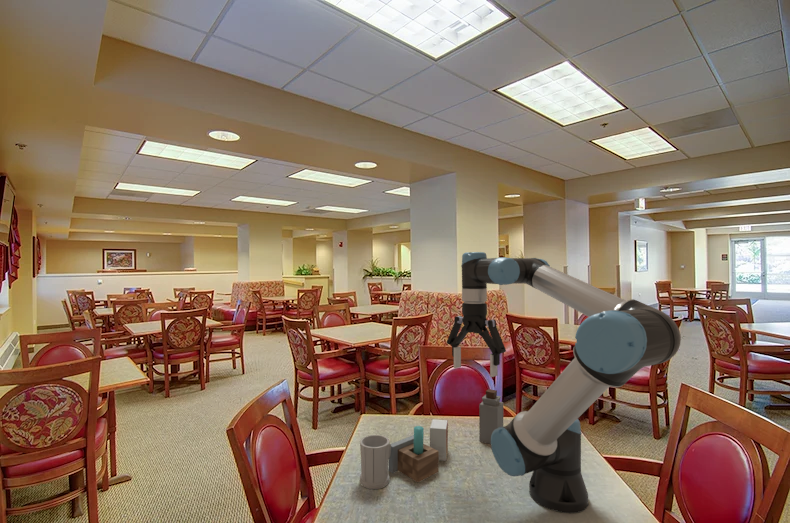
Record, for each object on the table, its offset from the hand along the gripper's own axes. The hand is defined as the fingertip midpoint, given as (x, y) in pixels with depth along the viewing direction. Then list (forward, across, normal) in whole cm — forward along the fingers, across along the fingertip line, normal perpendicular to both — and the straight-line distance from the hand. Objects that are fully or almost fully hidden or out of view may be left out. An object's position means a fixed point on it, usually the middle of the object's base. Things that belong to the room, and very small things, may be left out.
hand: (474, 371), depth 120 cm
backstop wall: (+31, +19, +11) cm, 38 cm away
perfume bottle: (+32, +11, -25) cm, 42 cm away
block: (+31, +13, +11) cm, 36 cm away
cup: (+32, +19, +24) cm, 44 cm away
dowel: (+30, +13, +12) cm, 35 cm away
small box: (+32, +16, -2) cm, 36 cm away
